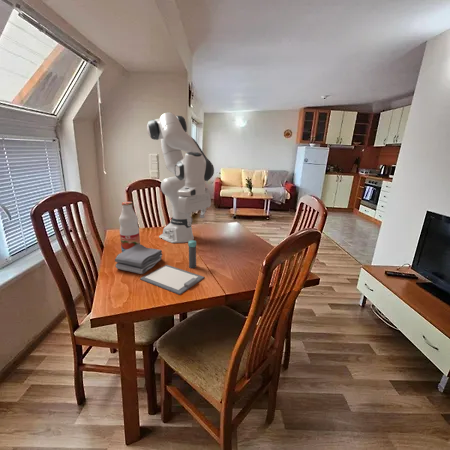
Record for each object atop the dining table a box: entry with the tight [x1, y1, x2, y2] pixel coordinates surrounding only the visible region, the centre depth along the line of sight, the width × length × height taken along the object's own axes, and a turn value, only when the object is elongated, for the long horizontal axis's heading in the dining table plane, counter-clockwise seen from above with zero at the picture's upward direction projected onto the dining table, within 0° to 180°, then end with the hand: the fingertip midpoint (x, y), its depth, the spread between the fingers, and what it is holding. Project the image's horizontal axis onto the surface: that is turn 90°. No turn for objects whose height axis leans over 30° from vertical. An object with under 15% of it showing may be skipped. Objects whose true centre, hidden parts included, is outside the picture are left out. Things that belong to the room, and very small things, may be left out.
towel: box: [114, 243, 163, 275], centre depth 119 cm, size 15×18×8 cm
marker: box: [187, 239, 197, 269], centre depth 117 cm, size 4×4×13 cm
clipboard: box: [139, 264, 205, 295], centre depth 107 cm, size 22×16×2 cm
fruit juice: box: [118, 201, 141, 253], centre depth 127 cm, size 9×9×28 cm
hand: (196, 219), depth 114 cm, fingers open, 8 cm apart
